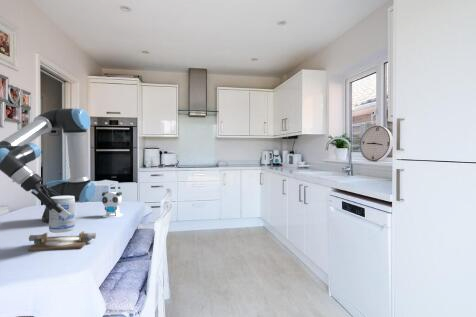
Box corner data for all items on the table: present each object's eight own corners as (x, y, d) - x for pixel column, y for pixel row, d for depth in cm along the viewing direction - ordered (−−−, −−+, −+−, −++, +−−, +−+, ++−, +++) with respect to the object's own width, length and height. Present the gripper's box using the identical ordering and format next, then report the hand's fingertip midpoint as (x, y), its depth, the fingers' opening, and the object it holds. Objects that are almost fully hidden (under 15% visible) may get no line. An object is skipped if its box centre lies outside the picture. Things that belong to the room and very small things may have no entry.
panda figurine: (97, 217, 173) (97, 192, 173) (109, 213, 184) (109, 190, 184) (115, 218, 171) (115, 193, 171) (126, 214, 182) (126, 191, 182)
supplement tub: (60, 234, 117) (60, 199, 117) (43, 232, 120) (43, 197, 120) (79, 228, 127) (80, 196, 126) (63, 226, 130) (63, 194, 129)
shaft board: (40, 239, 130) (39, 229, 130) (100, 236, 134) (100, 227, 134) (19, 251, 114) (19, 240, 114) (88, 248, 119) (88, 237, 118)
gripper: (29, 182, 128) (69, 215, 134) (8, 188, 107) (56, 227, 113) (43, 171, 130) (81, 203, 136) (25, 174, 109) (72, 213, 115)
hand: (70, 214), depth 124 cm, fingers closed on supplement tub, 10 cm apart
